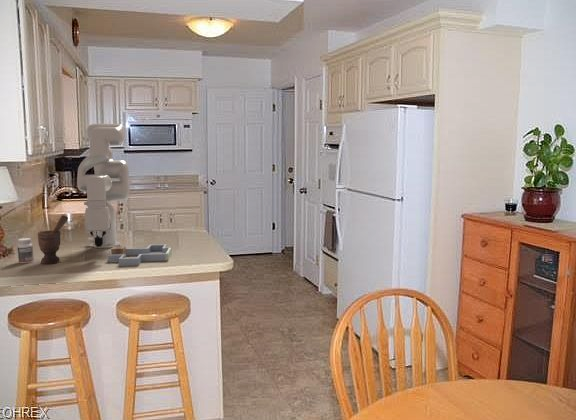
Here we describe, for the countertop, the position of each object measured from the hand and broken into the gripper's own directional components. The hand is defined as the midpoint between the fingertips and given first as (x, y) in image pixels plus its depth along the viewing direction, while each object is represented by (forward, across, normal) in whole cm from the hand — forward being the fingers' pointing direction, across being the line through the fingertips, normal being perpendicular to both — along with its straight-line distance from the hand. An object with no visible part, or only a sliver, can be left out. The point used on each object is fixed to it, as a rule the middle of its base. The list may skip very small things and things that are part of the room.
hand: (99, 246), depth 219 cm
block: (+6, +8, +1) cm, 10 cm away
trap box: (+6, +17, +1) cm, 18 cm away
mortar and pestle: (+6, -18, -2) cm, 19 cm away
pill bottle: (+6, -30, -1) cm, 31 cm away
